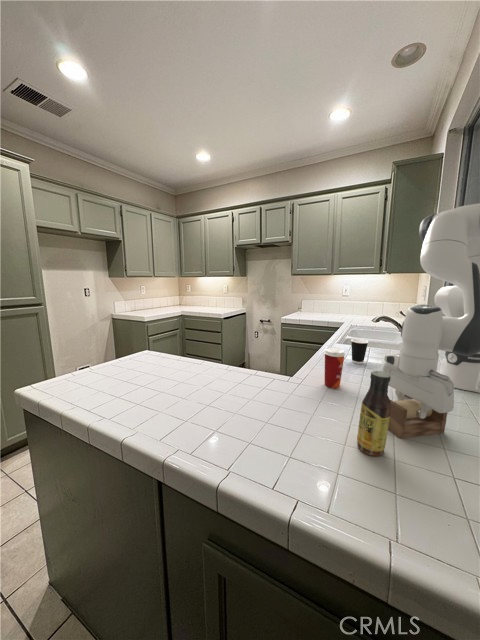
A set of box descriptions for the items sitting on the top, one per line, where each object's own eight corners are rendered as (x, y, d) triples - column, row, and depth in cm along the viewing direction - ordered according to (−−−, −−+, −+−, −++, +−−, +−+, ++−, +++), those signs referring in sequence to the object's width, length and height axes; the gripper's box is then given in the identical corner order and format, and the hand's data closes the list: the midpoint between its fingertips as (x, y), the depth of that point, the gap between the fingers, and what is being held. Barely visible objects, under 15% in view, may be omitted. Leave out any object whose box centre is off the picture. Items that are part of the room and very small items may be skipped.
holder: (416, 415, 81) (419, 391, 80) (444, 432, 73) (448, 405, 71) (375, 420, 78) (378, 394, 77) (399, 438, 70) (403, 410, 68)
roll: (416, 411, 78) (418, 395, 78) (431, 420, 74) (433, 403, 73) (389, 414, 76) (390, 398, 76) (403, 423, 72) (405, 406, 71)
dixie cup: (369, 363, 130) (372, 341, 128) (359, 365, 126) (362, 343, 124) (355, 358, 137) (357, 338, 135) (345, 361, 132) (347, 339, 131)
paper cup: (344, 390, 99) (347, 354, 96) (322, 388, 100) (325, 352, 98) (340, 382, 106) (343, 348, 104) (320, 380, 108) (323, 346, 105)
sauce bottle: (351, 441, 68) (358, 367, 65) (374, 441, 68) (383, 367, 65) (365, 459, 61) (374, 378, 58) (391, 458, 62) (401, 377, 59)
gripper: (465, 378, 63) (456, 431, 65) (397, 353, 83) (392, 394, 85) (444, 380, 62) (435, 434, 64) (380, 354, 81) (375, 396, 84)
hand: (410, 411), depth 75 cm, fingers closed on roll, 5 cm apart
